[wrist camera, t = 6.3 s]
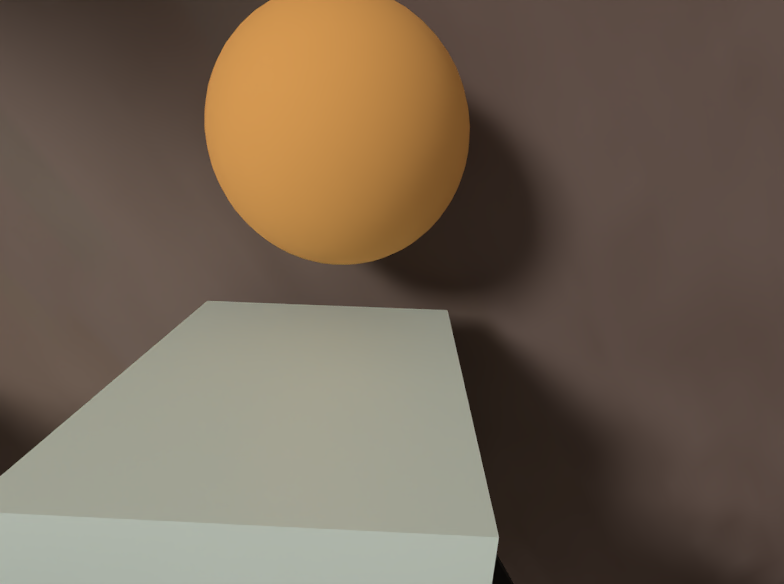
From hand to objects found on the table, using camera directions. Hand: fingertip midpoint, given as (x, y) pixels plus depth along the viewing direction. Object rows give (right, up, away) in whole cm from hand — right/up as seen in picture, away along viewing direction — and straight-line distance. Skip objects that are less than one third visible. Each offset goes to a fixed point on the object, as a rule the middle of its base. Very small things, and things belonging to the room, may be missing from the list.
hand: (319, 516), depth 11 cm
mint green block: (0, 0, +2) cm, 2 cm away
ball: (+1, +9, -2) cm, 9 cm away
